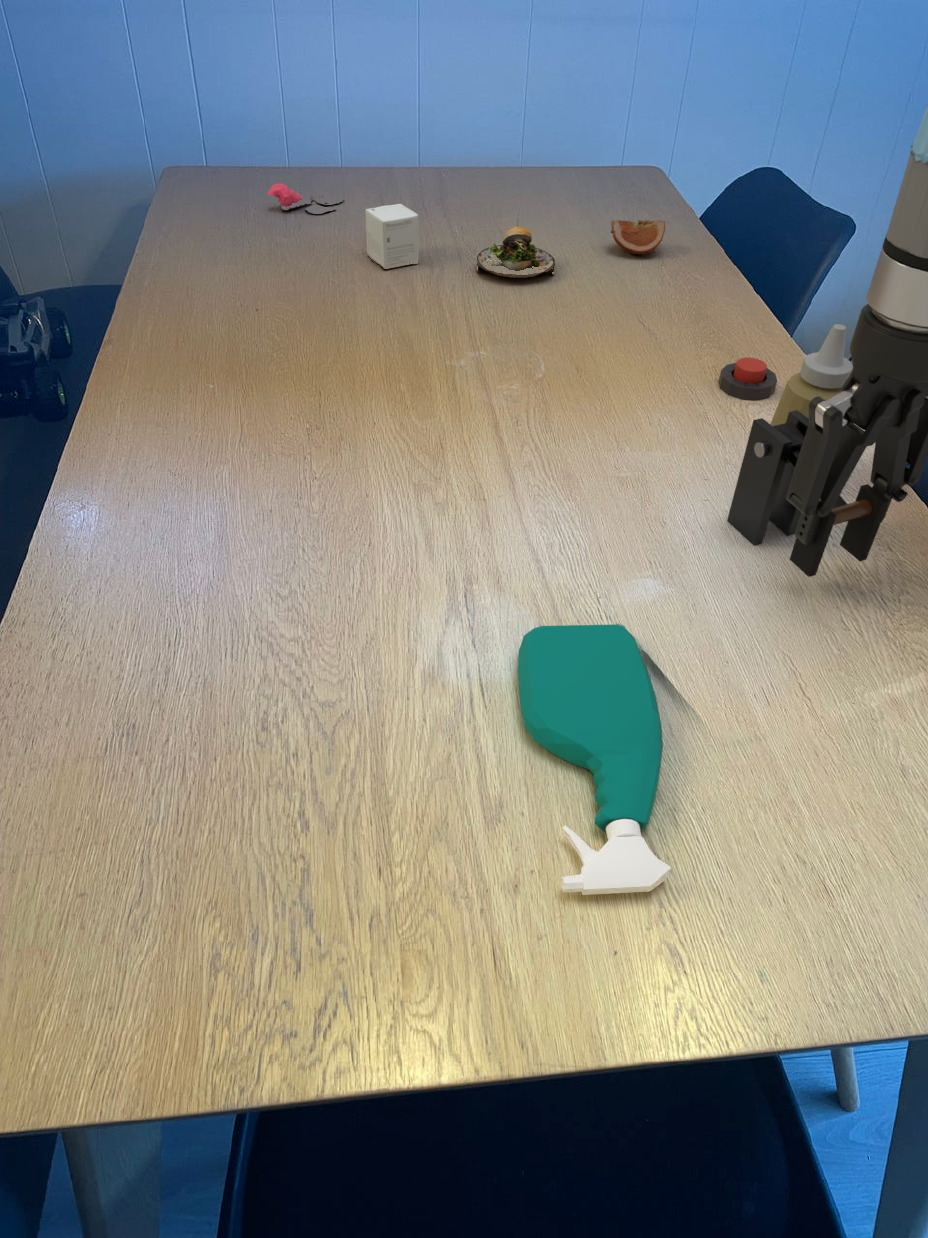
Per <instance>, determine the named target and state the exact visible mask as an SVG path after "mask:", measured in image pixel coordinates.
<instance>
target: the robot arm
mask: <svg viewBox="0 0 928 1238" xmlns="http://www.w3.org/2000/svg"><path fill="white" fill-rule="evenodd" d="M865 299H866V301H867V304H865V305H864V306H863V307H862V309H861V310H860V312H859V316H858V318H857V323H856V326H855V329H854V332H853V335H852V337H851V342H850V345H849V354H850V357H851V363H852V365H853V369H852V372H851V374H850V375H849V377H848V379H847V380H846V381H845V383H844V384H843V386H842V389H841V393H839V394H837V395H836V396H834V397H832V398H830V399H828V400H824V399H823V398H821V397H820V396H817V397H815V398H814V399H812V401H811V402H810V404H809V425H808V428H807V431H806V434H805V438H804V441H803V444H802V447H801V450H800V453H799V457H798V460H797V463H796V466H795V469H794V472H793V476H792V479H791V482H790V485H789V488H788V491H787V495H786V500H787V501H789V502H790V503H791V504H792V505H793V506H795V507H796V508H797V509H798V510H799V511H800V512H801V515H800V518H799V521H798V524H797V527H796V531H795V534H794V536H795V541H794V544H793V548H792V550H791V554H790V556H789V561H790V562H791V563H793V565H795V566H796V567H797V568H798V569H799V570H800V571H801V572H802V573H804V574H805V575H806V576H807V577H808V578H811V577H814V576H817V573H818V569H819V567H820V564H821V561H822V558H823V555H824V553H825V550H826V547H827V544H828V541H829V538H830V535H831V533H832V530H833V527H834V526H835V525H834V522H835V519H836V516H837V515H835V514H834V513H833V512H832V511H831V510H832V508H833V506H834V504H835V502H836V501H837V499H838V497H839V495H840V496H841V494H842V492H843V490H844V488H845V486H846V484H847V483H848V481H849V479H850V477H851V476H852V474H853V472H854V470H855V469H856V466H857V465H858V463H859V461H860V460H861V457H862V456H863V454H864V452H865V451H866V449H867V448H868V447H871V446H874V452H873V458H872V466H871V473H870V483H871V484H872V486H871V485H870V484H868V483H866V484H863V485H861V486H860V487H859V490H858V494H857V496H856V499H855V501H854V502H856V501H860V500H864V499H865V500H868V501H869V502H870V503H871V505H872V512H871V513H870V514H869V515H867V516H864V517H860V518H857V519H853V520H850V521H847V523H846V526H845V529H844V531H843V534H842V537H841V540H840V542H839V546H840V547H842V549H844V550H845V551H847V552H848V553H849V554H850V555H851V556H853V558H855V560H857V561H858V562H863V561H866V560H868V556H869V554H870V552H871V549H872V546H873V544H874V541H875V538H876V536H877V534H878V531H879V528H880V526H881V524H882V522H883V521H884V519H885V518H886V516H887V512H888V510H889V508H890V505H891V502H892V500H893V501H895V502H897V503H901V502H902V501H904V500H905V499H906V498H907V496H908V494H909V493H908V492H907V491H905V490H904V489H903V487H905V486H908V487H914V486H915V485H917V484H918V482H920V479H921V476H922V474H923V471H924V469H925V467H926V463H927V461H928V105H927V106H926V108H925V111H924V114H923V116H922V119H921V122H920V125H919V127H918V129H917V132H916V135H915V138H914V140H913V141H912V143H911V144H910V147H909V157H908V160H907V164H906V167H905V170H904V173H903V177H902V180H901V185H900V187H899V190H898V194H897V198H896V200H895V204H894V208H893V211H892V214H891V218H890V221H889V225H888V228H887V230H886V234H885V237H884V240H883V243H882V247H881V250H880V253H879V256H878V258H877V262H876V266H875V269H874V271H873V274H872V278H871V281H870V284H869V287H868V290H867V294H866V297H865ZM906 464H908V465H909V467H908V466H907V465H906Z"/></svg>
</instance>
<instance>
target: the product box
mask: <svg viewBox="0 0 928 1238" xmlns="http://www.w3.org/2000/svg"><path fill="white" fill-rule="evenodd" d="M419 221H420V220H419V214H418V213H416V211H413V210H412V209H410V208H408V207H407V206H405V205H404V204H402V203H396V204H390V205H388V204H387V205H381V206H376V207H370V208H366V209H365V230H366V231H365V232H366V233H365V234H366V254H367V253H368V254H369V255H370V256H371V257H372V258H374V259H375V260H376V261H377V262H378V263H379V264H381V265H382V266H391V265H396V264H400V263H405V262H409V261H415V260H419V261H420V228H419V227H420V222H419Z"/></svg>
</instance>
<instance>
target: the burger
mask: <svg viewBox="0 0 928 1238" xmlns="http://www.w3.org/2000/svg"><path fill="white" fill-rule="evenodd" d="M517 215H519V213H518V214H517ZM516 225H517V226H515V227H512V228H510V229H508V230H507V231H506V232H505V233H504V234H503V236H502V244H498V245H497V244H496V243H493V246H490V247H487V248H484V249H482V250H481V251H480V252H479V253H478V254H477V255H476V265H477V266H478V269H479V270H480V268H481V269H482V270H484V271H486V272H489V273H491V274H494V275H496V276H500V277H504V278H506V277H508V278H515V279H516V278H518V279H519V278H524V279H525V278H531V277H532V278H533V277H535V276H538V275H540V274H544V273H545V272H546V273H548V272H549V271H552V272H554V271H555V270H554V266H555V267H556V260H555V258H554V257H553V255H551V254H550V253H549V252H547V251H545V250H543V249H541V248H538V247H536V245H535V244H533V243H532V241H533V240H532V238H533V237H532V233H531V232H530V230H529V229H527V228H526V227H522V226H519V219H517V223H516ZM531 243H532V244H531ZM494 255H495V256H496V257H497V258H498V259H499V260H501V262H502V263H500V262H498V261H497V260H495V261H493V262H491V263H492V265H491V266H504V267H506V268H508V269H509V270H515V271H520V270H524V269H526V268H532V266H534V267H539V266H541V267H542V266H545V268H543V269H545V270H541V269H542V268H541V269H538V270H535V271H539V270H541V272H539V273H533V272H532V273H533V274H531V273H530V274H528V275H524V274H522V275H516V274H503V273H497V272H494V271H491V270H489V269H486V268H485V267H484V266H489V265H487V263H488V262H487V263H485V262H486V261H488V260H489V258H491V257H494ZM494 259H495V258H494ZM494 259H493V260H494ZM489 261H492V260H489ZM497 262H498V263H499V264H498V263H497ZM491 263H489V264H491ZM495 263H496V264H495ZM552 268H553V269H552ZM532 269H533V268H532ZM525 274H527V273H525Z"/></svg>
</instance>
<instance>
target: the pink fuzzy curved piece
mask: <svg viewBox="0 0 928 1238" xmlns="http://www.w3.org/2000/svg"><path fill="white" fill-rule="evenodd" d="M266 195H267V196H273V197H275V198H278V203H279V202H280V205H282V206H286V207H287V206H290V205H292V203H297V202H298V201H299V200H302V198H303V196H301V195H299V194H298V193H295V190H293V189H291V188H289V187H288V186H287V185H286V184H283V183H281V182H280V183H275V184H273V185H271V187H270V189H269V190H268V192H267V193H266Z"/></svg>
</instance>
